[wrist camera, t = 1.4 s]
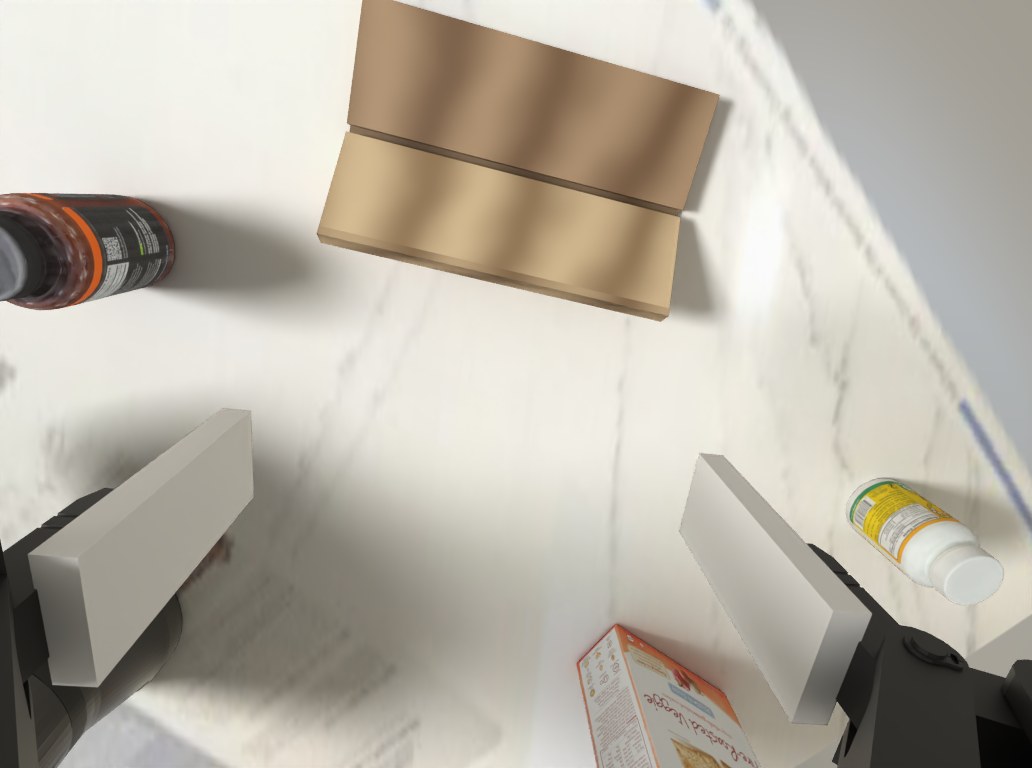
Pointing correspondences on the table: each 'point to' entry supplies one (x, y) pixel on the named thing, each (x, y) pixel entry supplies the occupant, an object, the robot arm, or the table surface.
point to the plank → (499, 228)
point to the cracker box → (656, 710)
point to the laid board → (525, 107)
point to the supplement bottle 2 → (924, 541)
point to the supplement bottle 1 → (78, 248)
